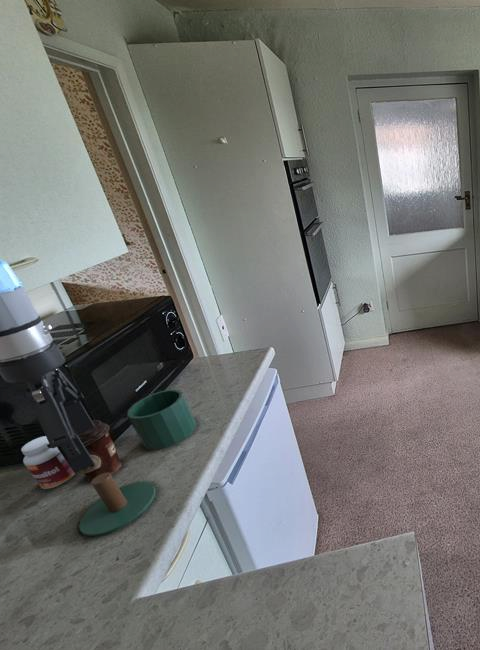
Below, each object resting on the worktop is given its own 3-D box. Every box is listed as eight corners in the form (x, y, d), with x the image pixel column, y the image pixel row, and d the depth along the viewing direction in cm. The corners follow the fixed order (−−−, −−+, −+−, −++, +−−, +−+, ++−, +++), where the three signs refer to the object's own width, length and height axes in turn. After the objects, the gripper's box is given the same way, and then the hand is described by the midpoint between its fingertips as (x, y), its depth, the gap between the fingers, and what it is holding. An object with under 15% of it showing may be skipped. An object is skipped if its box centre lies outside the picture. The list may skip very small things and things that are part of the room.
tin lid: (66, 545, 73) (41, 512, 69) (105, 492, 84) (86, 462, 80) (137, 529, 75) (117, 496, 71) (167, 480, 86) (150, 449, 82)
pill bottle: (35, 494, 85) (8, 458, 81) (50, 474, 91) (25, 439, 86) (70, 484, 87) (45, 447, 83) (82, 465, 93) (59, 430, 88)
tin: (135, 455, 94) (117, 422, 90) (158, 425, 104) (142, 394, 100) (185, 445, 96) (169, 412, 92) (203, 417, 106) (189, 386, 102)
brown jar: (106, 487, 86) (78, 443, 80) (71, 489, 86) (41, 445, 81) (136, 458, 93) (113, 416, 88) (104, 459, 94) (79, 417, 89)
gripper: (48, 369, 57) (112, 473, 66) (60, 322, 75) (109, 409, 83) (-26, 392, 53) (53, 500, 61) (5, 336, 70) (63, 426, 79)
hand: (85, 448), depth 72 cm, fingers open, 13 cm apart
